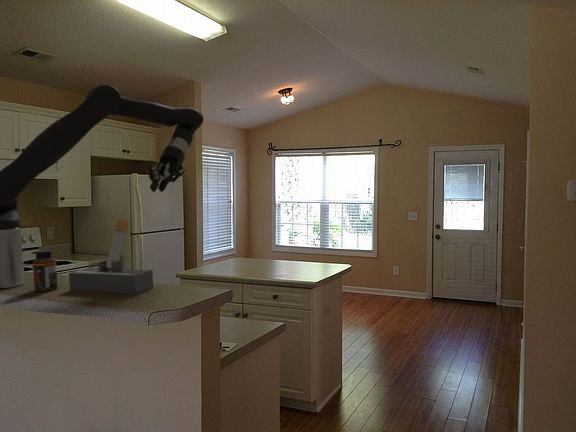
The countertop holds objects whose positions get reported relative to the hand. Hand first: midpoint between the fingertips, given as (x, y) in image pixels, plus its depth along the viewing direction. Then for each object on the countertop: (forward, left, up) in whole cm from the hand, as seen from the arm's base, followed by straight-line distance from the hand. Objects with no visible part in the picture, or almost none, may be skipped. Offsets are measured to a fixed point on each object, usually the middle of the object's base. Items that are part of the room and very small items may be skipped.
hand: (156, 189), depth 158 cm
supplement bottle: (-19, -29, -27) cm, 44 cm away
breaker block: (0, -24, -27) cm, 36 cm away
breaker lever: (0, -24, -21) cm, 32 cm away
